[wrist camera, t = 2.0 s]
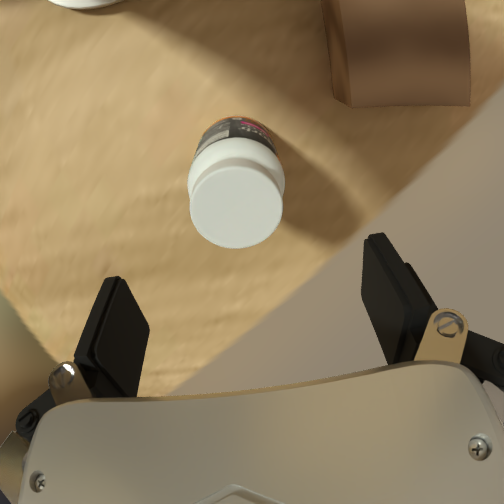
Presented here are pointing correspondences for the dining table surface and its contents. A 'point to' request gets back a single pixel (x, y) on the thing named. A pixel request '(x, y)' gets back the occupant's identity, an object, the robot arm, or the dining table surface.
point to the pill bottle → (236, 183)
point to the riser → (398, 52)
